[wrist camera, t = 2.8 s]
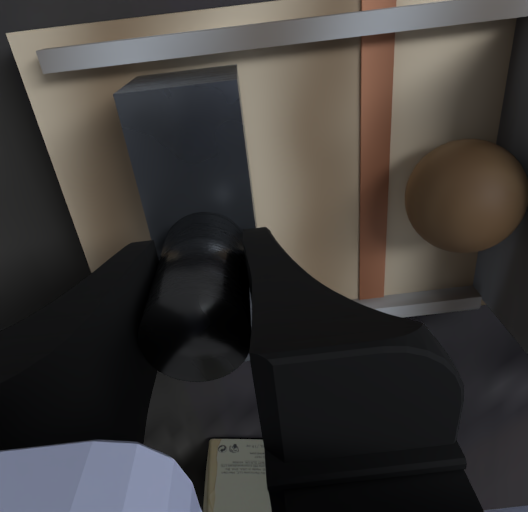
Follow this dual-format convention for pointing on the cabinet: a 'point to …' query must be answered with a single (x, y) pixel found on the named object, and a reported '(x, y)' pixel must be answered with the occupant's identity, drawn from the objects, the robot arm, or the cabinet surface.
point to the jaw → (192, 217)
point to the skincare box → (236, 477)
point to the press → (325, 138)
